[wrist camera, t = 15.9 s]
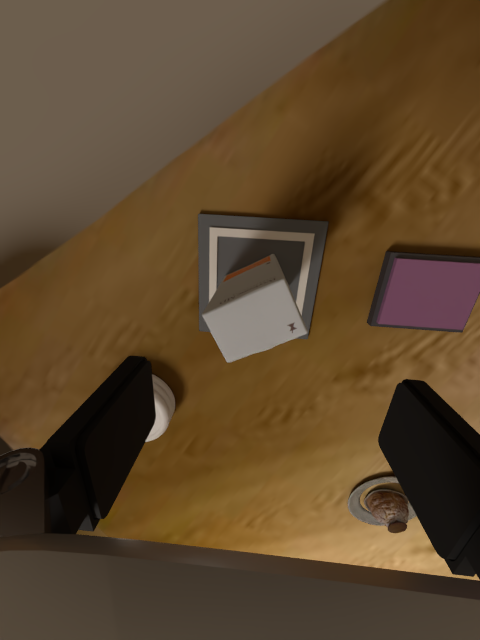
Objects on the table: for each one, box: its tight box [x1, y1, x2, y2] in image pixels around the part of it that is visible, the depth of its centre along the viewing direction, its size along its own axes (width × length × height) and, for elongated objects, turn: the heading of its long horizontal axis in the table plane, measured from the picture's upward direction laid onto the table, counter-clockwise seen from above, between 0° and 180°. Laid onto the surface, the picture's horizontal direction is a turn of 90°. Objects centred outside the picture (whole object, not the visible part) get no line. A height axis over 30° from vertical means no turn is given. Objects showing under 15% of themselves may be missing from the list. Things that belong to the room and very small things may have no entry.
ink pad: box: [367, 251, 480, 332], centre depth 26 cm, size 10×8×2 cm
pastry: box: [348, 476, 417, 533], centre depth 38 cm, size 12×12×5 cm
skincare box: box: [202, 254, 308, 362], centre depth 21 cm, size 6×4×12 cm
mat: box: [198, 214, 328, 339], centre depth 27 cm, size 13×13×1 cm
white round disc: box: [145, 374, 175, 442], centre depth 33 cm, size 10×10×4 cm
